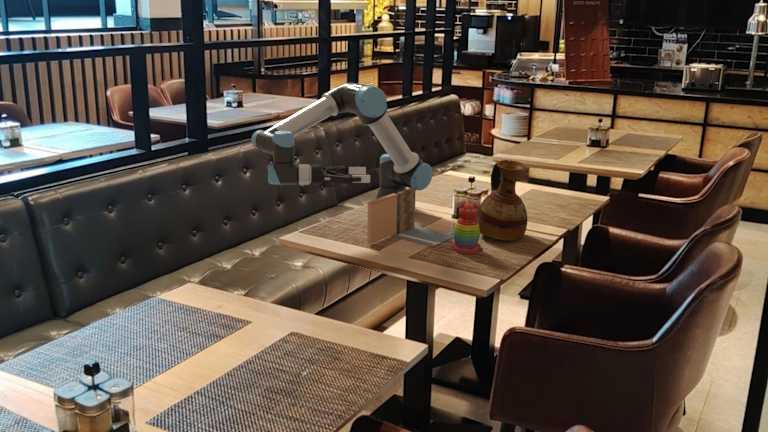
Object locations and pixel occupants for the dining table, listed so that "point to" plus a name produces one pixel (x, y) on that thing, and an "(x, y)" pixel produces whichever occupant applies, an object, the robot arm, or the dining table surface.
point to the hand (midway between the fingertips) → (368, 174)
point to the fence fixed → (405, 210)
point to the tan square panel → (382, 218)
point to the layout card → (424, 236)
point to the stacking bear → (467, 230)
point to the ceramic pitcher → (503, 204)
